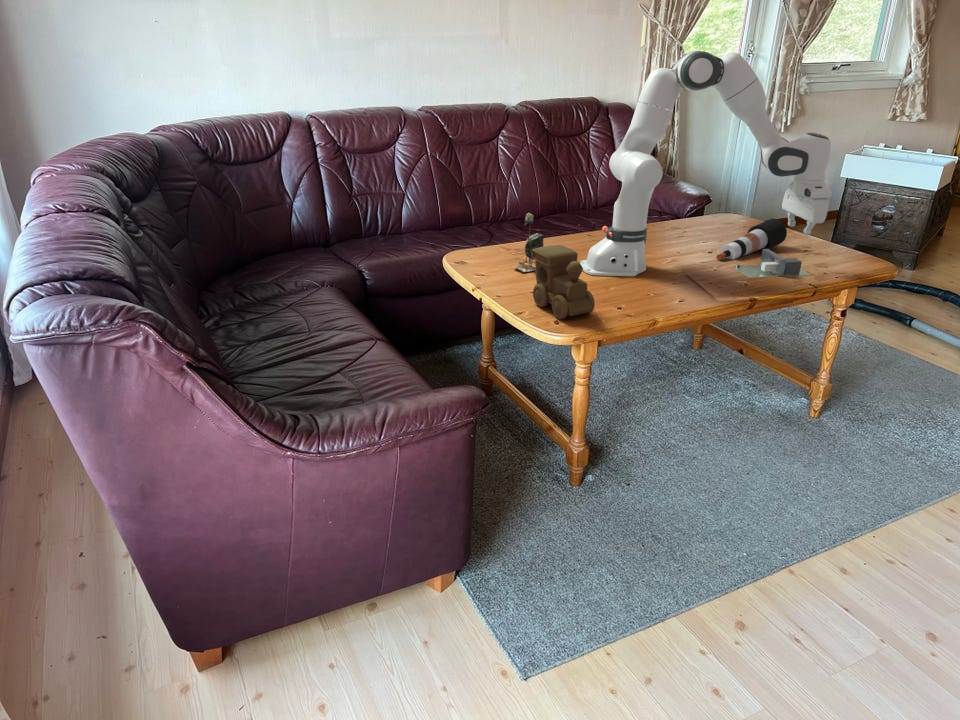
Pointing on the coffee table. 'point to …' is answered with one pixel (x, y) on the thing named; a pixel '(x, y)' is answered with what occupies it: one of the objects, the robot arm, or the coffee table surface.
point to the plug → (790, 266)
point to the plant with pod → (530, 247)
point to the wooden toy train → (560, 282)
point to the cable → (755, 240)
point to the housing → (757, 272)
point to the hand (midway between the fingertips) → (798, 230)
